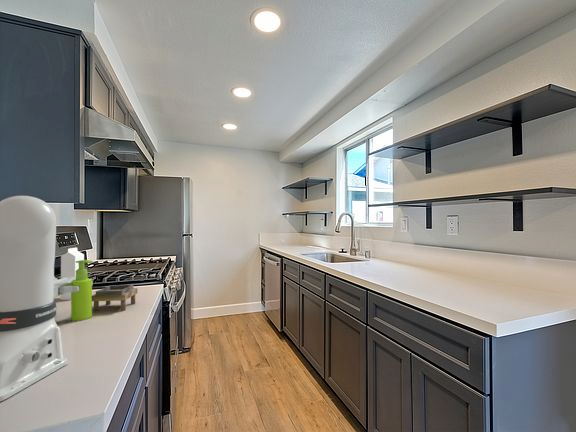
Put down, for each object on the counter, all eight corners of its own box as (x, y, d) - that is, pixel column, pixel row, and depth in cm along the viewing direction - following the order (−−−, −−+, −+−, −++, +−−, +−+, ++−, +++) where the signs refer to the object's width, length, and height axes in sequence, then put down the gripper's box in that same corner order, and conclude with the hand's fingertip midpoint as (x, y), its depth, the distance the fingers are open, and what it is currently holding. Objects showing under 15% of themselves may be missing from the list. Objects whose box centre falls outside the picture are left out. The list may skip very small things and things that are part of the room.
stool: (124, 311, 108) (125, 290, 108) (90, 312, 107) (90, 291, 107) (137, 302, 119) (137, 284, 119) (106, 303, 118) (106, 285, 118)
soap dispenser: (83, 321, 97) (83, 261, 97) (66, 320, 99) (66, 261, 99) (98, 315, 103) (98, 259, 103) (82, 314, 104) (82, 258, 104)
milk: (83, 296, 131) (84, 247, 131) (74, 299, 125) (75, 248, 125) (69, 296, 130) (70, 247, 131) (60, 300, 124) (60, 248, 125)
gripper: (62, 289, 110) (101, 288, 111) (18, 304, 90) (66, 303, 91) (63, 272, 110) (101, 271, 111) (18, 284, 90) (66, 283, 91)
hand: (85, 286), depth 101 cm, fingers closed on soap dispenser, 6 cm apart
